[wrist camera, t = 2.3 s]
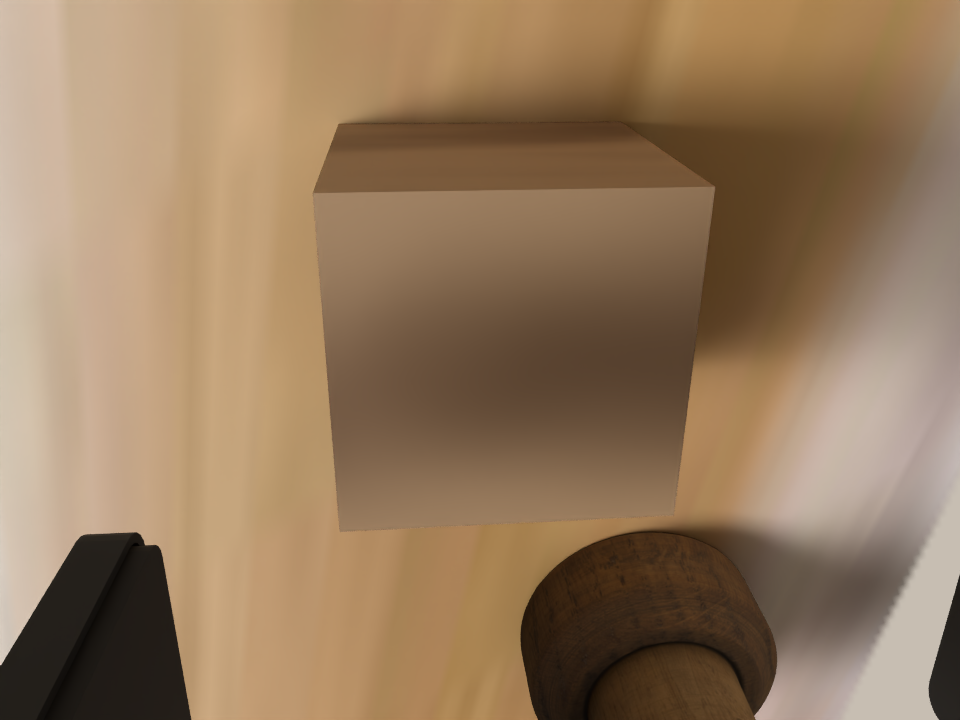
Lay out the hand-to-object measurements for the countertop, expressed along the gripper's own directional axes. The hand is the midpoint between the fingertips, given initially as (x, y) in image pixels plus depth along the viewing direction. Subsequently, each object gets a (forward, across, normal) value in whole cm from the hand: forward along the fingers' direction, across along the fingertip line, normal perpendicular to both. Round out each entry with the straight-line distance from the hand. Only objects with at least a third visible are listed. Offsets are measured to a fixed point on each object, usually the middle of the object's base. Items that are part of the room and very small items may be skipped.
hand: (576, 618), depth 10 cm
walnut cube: (+11, 0, -1) cm, 11 cm away
